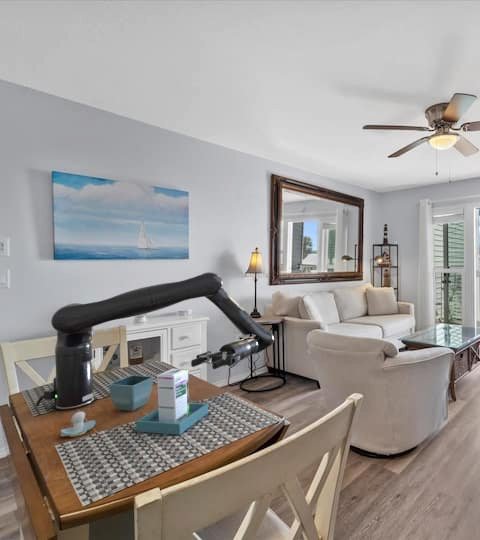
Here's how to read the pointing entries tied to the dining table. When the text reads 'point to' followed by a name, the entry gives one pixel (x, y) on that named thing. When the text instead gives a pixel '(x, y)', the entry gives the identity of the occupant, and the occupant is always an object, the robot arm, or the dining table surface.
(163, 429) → the tray
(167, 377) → the syrup box
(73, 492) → the dining table surface
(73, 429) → the pacifier
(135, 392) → the flower pot
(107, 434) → the dining table surface
